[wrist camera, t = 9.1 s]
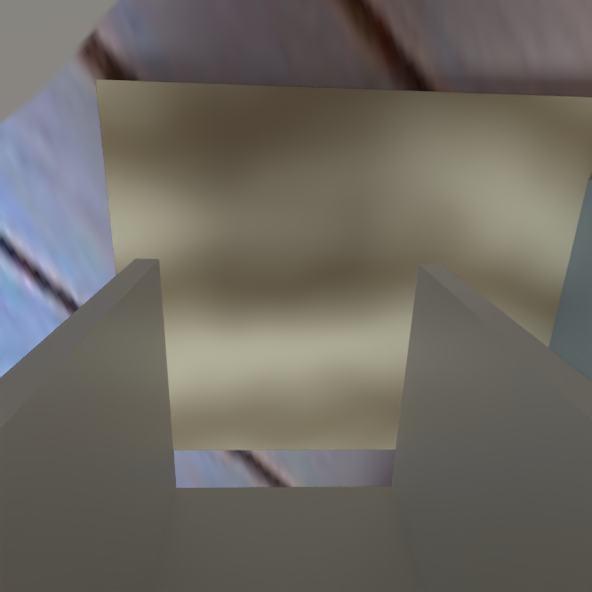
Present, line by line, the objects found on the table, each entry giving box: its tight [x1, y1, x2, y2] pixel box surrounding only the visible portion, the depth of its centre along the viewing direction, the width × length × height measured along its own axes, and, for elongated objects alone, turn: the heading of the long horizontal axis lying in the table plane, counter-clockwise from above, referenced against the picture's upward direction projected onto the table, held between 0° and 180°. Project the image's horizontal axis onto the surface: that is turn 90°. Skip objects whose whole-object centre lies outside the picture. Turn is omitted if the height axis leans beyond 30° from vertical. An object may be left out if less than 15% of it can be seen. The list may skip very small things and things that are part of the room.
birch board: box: [95, 79, 592, 450], centre depth 20 cm, size 16×30×1 cm, turn 88°
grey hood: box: [0, 259, 592, 592], centre depth 8 cm, size 8×8×10 cm
